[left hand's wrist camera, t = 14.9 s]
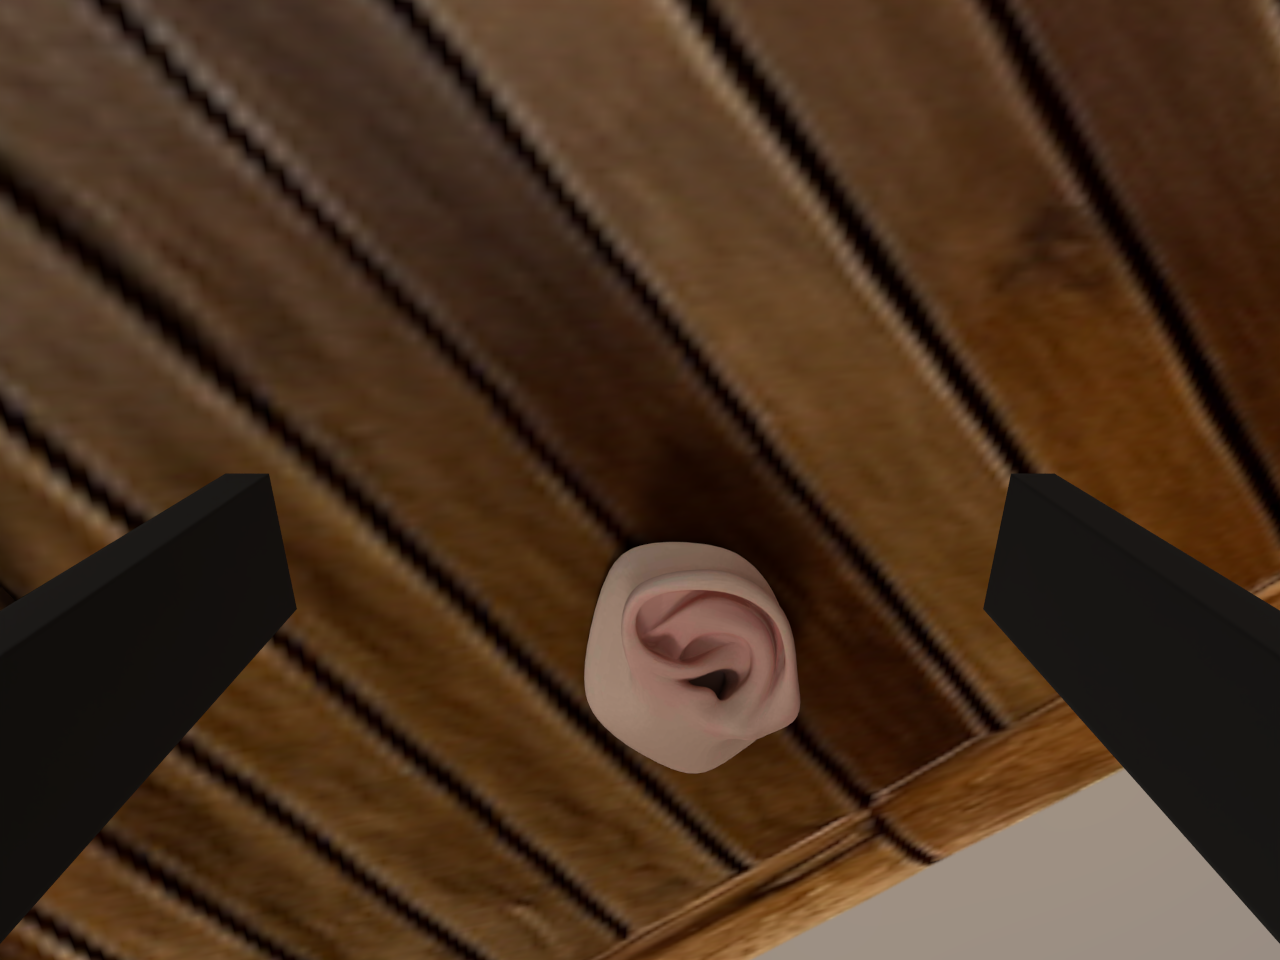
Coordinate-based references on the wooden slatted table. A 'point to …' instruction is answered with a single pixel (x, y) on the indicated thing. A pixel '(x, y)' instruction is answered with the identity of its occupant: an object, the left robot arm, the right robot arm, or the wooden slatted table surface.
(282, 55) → the wooden slatted table surface
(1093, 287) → the wooden slatted table surface
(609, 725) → the anatomical model
